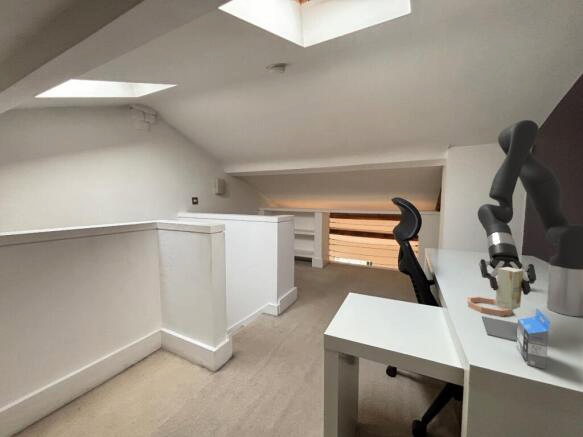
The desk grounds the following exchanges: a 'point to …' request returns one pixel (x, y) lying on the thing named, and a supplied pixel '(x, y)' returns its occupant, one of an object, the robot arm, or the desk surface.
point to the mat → (501, 328)
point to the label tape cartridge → (533, 340)
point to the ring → (483, 309)
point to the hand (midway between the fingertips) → (510, 291)
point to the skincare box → (509, 288)
